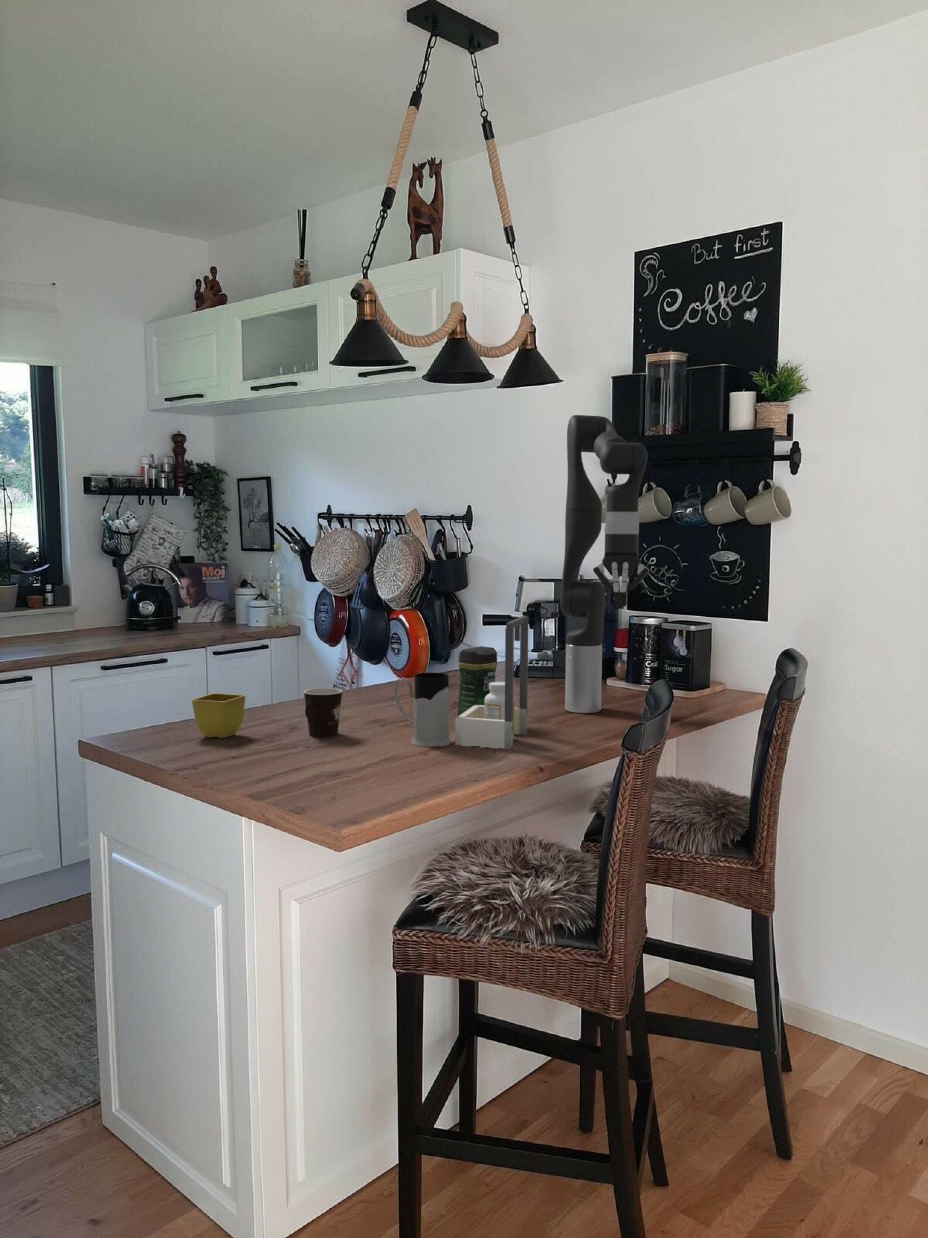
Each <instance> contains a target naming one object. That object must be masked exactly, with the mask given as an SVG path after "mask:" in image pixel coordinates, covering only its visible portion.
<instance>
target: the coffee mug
mask: <svg viewBox="0 0 928 1238" xmlns="http://www.w3.org/2000/svg"><path fill="white" fill-rule="evenodd" d="M303 695H304V696H303V697H304V702H305V703H304V704H305V708H304V714H305V717H306V719H307V720H306V721H307V726H308V733H309V735H308V736H310V737H312V738H317V739H318V738H319V739H320V738H321V739H325V738H326V739H327V738H333V737H337V736H338V733H339V727H340V717H341V715H340V714H341V706H342V705H341V704H342V698H343V690H342V689H339V688H334V687H333V688H332V687H319V688H318V687H317V688H310V689H306V690H304V691H303Z"/></svg>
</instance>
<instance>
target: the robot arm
mask: <svg viewBox="0 0 928 1238" xmlns="http://www.w3.org/2000/svg"><path fill="white" fill-rule="evenodd" d="M566 451H567V454H566V455H567V457H566V458H567V483H566V484H567V489H566V499H565V500H566V504H565V517H564V519H565V521H564V524H565V526H564V527H565V529H564V530H565V531H564V558H563V559H564V560H563V566H562V567H563V569H562V577H561V585H560V595H559V596H560V597H559V599H560V609H561V612H562V614H563V616H565V617H568V618H569V617H570V618H584V619H586V624H585V625H583V626H582V627H580V628H577V629H575V630H572V631H569V632H567V633H566V635H565V643H566V644H565V682H564V683H565V689H564V690H565V691H564V693H565V694H564V710H565V711H567V712H571V713H575V714H576V713H577V714H579V713H580V714H591V713H592V714H594V713H598V712H600V711H601V710H602V669H603V663H602V662H603V635H604V621H605V609H606V591H605V589H607V590H610V591H611V592H612V591H613V606H614V607H616V609H618V610H624V609H625V607H627V605H628V592H630V591H633V590H635V589H636V587H638V585H640V583H641V582H642V580H643V579H644V578H645V577H646V576H647V575H648V573H649V572H650V569H649V567H646V566H644V565H643V564H642V563H641V558H640V557H639V541H640V540H639V536H640V535H639V533H640V518H639V495H640V494H639V493H640V488H641V484H642V480H643V476H644V473H645V470H646V467H647V463H648V456H649V455H648V451H647V449H646V447H645V445H643V444H642V443H641V442H628V441H626V440H625V439H624V438H623V437H621V436H620V435H618V433H617V431H616V428H615V427H614V425H613V423H612V421H611V420H610V419H609V418H608V417H606V416H601V415H586V414H585V415H584V414H583V415H582V414H573V415H572V416H570V418H569V420H568V424H567V430H566ZM582 453H594V454H595V456H596V457H597V458H598V459H599V465H600V468H601V470H602V471H603V473H606V474H608V475H628V478H627V480H626V481H625V482H624V483H621V484H615V485H612V486H610V487H608V488H607V491H606V516H605V521H604V522H605V523H604V525H605V526H604V555H603V558H602V560H601V563H600V564H598V565H597V566H595V567H594V568H593V569H592V570H593V572H594V574H595V575H596V576H597V578H598V579H599V581H600V582H596V581H579V576H580V570H581V568H582V567H581V566H582V564H583V561H584V559H585V558H586V557H587V554H588V553H589V552H590V550H591V549H592V547H593V546H594V545H595V543H596V541H597V540H598V538H599V536H600V533H601V531H602V522H603V521H602V519H603V504H602V501H601V498H600V496H599V494H598V493H597V491H596V489H595V487H594V485H593V484H592V483H591V481H590V479H589V477H588V474H587V472H586V470H585V467H584V463H583V456H582ZM637 568H638V569H637ZM606 570H607V572H608V574H609V575H610V576H611V577H612V582H611V581H610V579H608V577H607V576H606V574H605V572H606ZM636 570H637V576H636V577H635V579H634V580H633V581H632V582H631V583H630V584H629V581H630V577H631V576H632V575H633V574H634V573H635V571H636Z"/></svg>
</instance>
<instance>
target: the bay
mask: <svg viewBox="0 0 928 1238" xmlns="http://www.w3.org/2000/svg"><path fill="white" fill-rule="evenodd" d="M528 620H529V617H528V615H521V616H520V617H517V618H514V619H513V620H510V621H508V622H506V623H505V625H506V626H505V639H504V640H505V643H504V645H505V646H504V648H505V649H504V653H505V654H504V656H505V657H504V664H505V665H504V682H505V720H498V719H485V705H474V706H472V707H471V708H470V709H468V710H467V711H465V712H464V713H462V714H461V715H459V716H458V717H455V719H454V721H455V726H454V727H455V728H454V731H455V732H454V733H455V734H454V735H455V740H454V741H455V746H457V745H461V746H460V747H471V746H480V747H479V748H485V747H489V748H488V749H499V748H502V750H503V749H504V750H512V749H513V748H514V744H513V743H514V742H513V741H514V739H513V697H514V666H515V665H514V664H515V663H514V661H515V660H514V659H515V658H514V657H515V656H514V655H515V654H514V653H515V642H520V643H519V653H520V654H519V706H518V707H517V706H514V735H518V736H519V735H520V736H522V735H523V736H526V735H527V734H528V695H529V694H528V690H529V689H528V687H529V686H528V685H529V684H528V683H529V682H528V680H529V672H528V671H529V669H528V668H529V621H528Z"/></svg>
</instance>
